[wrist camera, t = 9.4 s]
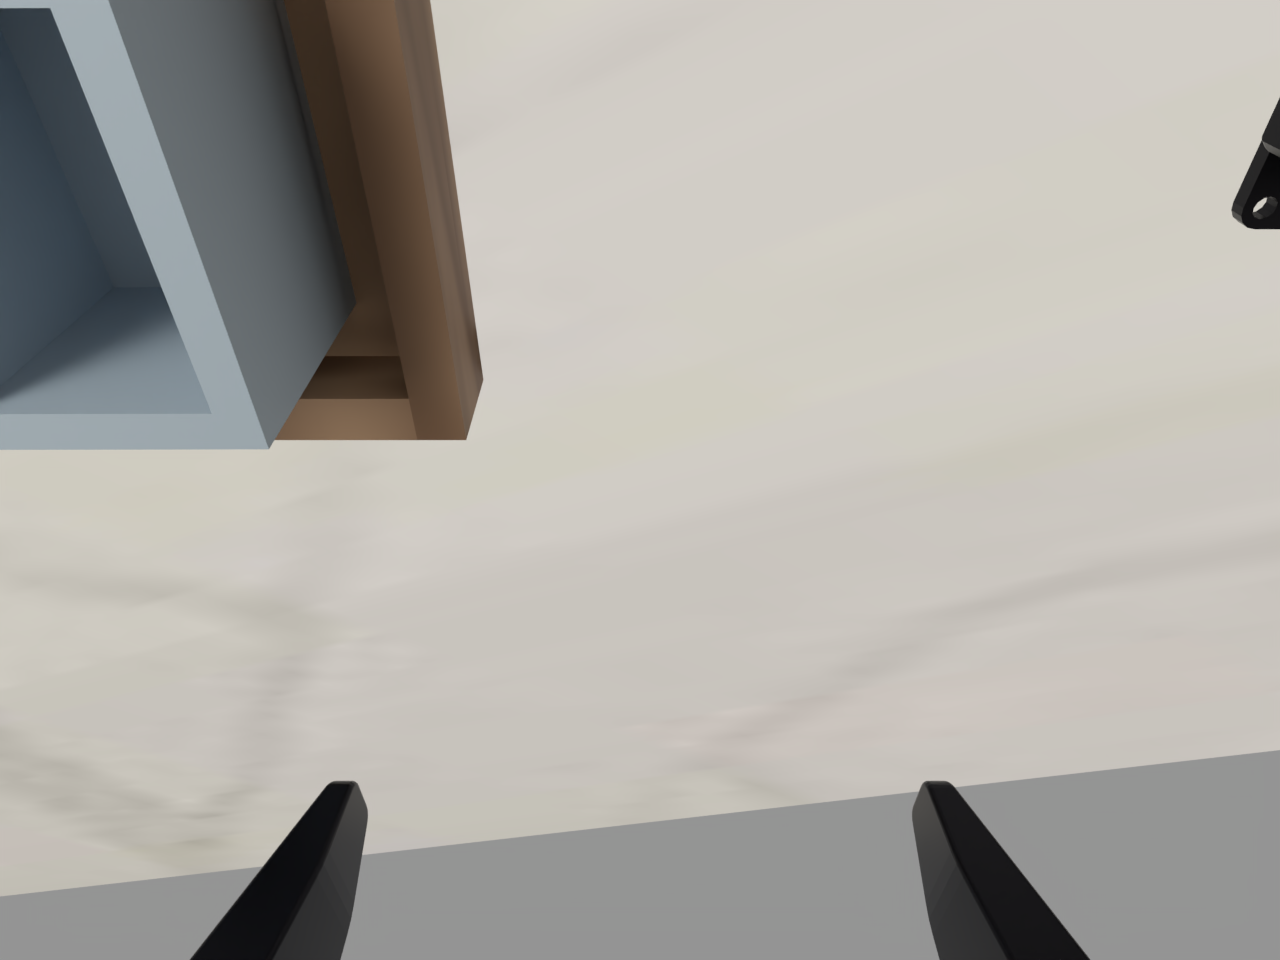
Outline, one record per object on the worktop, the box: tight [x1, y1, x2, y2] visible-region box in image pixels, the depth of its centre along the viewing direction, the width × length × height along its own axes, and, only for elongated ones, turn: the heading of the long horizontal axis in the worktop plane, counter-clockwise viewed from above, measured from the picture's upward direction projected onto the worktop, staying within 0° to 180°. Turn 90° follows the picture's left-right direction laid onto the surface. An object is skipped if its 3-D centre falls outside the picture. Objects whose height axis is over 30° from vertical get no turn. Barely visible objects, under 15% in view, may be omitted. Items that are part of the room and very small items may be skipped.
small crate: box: [0, 0, 356, 450], centre depth 15 cm, size 6×8×6 cm
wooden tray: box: [275, 0, 483, 440], centre depth 17 cm, size 11×13×3 cm
